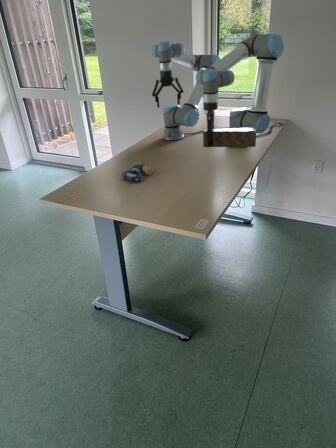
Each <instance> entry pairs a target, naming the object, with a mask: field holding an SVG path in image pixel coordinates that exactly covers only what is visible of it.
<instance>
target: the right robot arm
mask: <svg viewBox="0 0 336 448" xmlns="http://www.w3.org/2000/svg"><path fill="white" fill-rule="evenodd" d="M284 48H285V45H284V40H283V37H282V36H281V35H280V34H279V33H260V34H259V33H258V34H253V35H251V36H249V37H247V38H244V39H243V40H241V41H240V42H239V43H237V44H236V46H235V48H234V49H232V50H231V51H229V52H228V53H226V54H225V55H224V56H223V57H221V59H220V60H218V61H217V62H216V63H214V64H213V65H211V66H210V67H209V68H207V69H206V70H199V71H198V72H196V74H195V81H196V82H197V83H198V84H202V85H203V95H202V97H203V98H202V100H203V103H202V105H203V110H204V111H207V112H206V129H207V134H206V135H208V146H213V133H212V129H214V128H215V114H216V113H215V111H217V110H218V108H219V107H218V106H219V102H218V101H219V92H218V91H219V88H224V87H229V86H231V85H233V84H234V82H235V73H234V71H232V70H230V69H232V68H233V67H235V66H236V65H237V64H239V63H241V61H245V60H247V59H249V58H255V61H256V62H257V69H256V75H255V82H254V87H253V94H252V101H251V106H250V108H248V107H241V108H235V109H232V110H230V112H229V119H228V120H229V121H228V122H229V123H228V125H229V127H228V128H256V138H257V137H261V136H264V135H267V134H270V133H271V131H272V127H274V126H276V125H282V126H283V125H284V124H283V123H282V122H276V123H274V124H271V116H270V115H269V114H268V113H269V110H268V109H267V104H268V98H269V92H270V87H271V80H272V75H273V69H274V65H275V63H277V61H278V58H280V57H281V56H282V54H283V52H284ZM268 128H269V130H268ZM267 130H268V131H267ZM266 131H267V132H266ZM257 134H258V135H257ZM231 148H234V149H240V148H243V147H231Z"/></svg>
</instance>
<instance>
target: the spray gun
mask: <svg viewBox="0 0 336 448" xmlns="http://www.w3.org/2000/svg"><path fill="white" fill-rule="evenodd" d="M153 171H154V170H153V168H151V167H150V166H148V165H145V164H144V162H141V163H134V164H133V165H131V166H130V167H129V168H128V169H126V170H125V171H124V172H122V173H121V174H120V175H121V176H120V179H121V180H123V181H125V180H126V181H128V182H130V183H134V182H135V183H136V182H140V181H141V180H142V177H143V175H141V173H144V174H145V175H147V176H151V175H152V174H153Z"/></svg>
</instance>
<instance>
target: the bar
mask: <svg viewBox="0 0 336 448" xmlns="http://www.w3.org/2000/svg"><path fill="white" fill-rule="evenodd" d="M222 128H223V129H212V133H213V146H208V135H206V134H207V128H204V129H203V130H204V131H203V132H202V141H203V143H202V144H203V146H202V147H203V148H232V147H242V148H255V147H256V146H257V145H256V144H257V137H256V136H257V133H256V128H229V127H222Z"/></svg>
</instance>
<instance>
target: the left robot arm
mask: <svg viewBox="0 0 336 448" xmlns="http://www.w3.org/2000/svg"><path fill="white" fill-rule="evenodd" d="M150 51H151V55H152V57H153V58H157V59H158V64H159V70H160V71H159V76H160V78H159V79H155V83H154V87H153V90H152V93H151V96H152V97H154V101H155V103H156V106H157V108H158V109H159V108H160V98H159V97H160V96H159V94H160V93H161V91H162V89H164V88H165V87H166V88H167V87H172V88H173V89H174V90H175V92H177V93H176V99H177V104H171V105H166V106H165V107H163V113H162V114H163V123H164V130H163V135H162V139H163V140H164V141H167V142H176V141H180V140H182V139H184V137H185V135H186V136H187V135H196V134H199V133H200V134H201V133H203V131H204V129H203V130H198V131H196V132H187V133H185V132H183V129H182V126H183V127H191V128H192V127H195V126H196V125H197V124H198V122H199V120H200V112H199V111H200V109H199V107H200V104H201V103H202V100H203V98H204V97H202V95H203V85H202V84H198V83H197V81H196V82H195V84H194V86H193V89H192V90H191V93H190V94H189V97H188V99H187V101H186V102H184V103H183V105H182V107H180V105H181V99H182V94H183V93H184V89H183V87H182V85H181V83H180V82H179V78H178V77H176V76H175V77H173V70H172V69H173V63H175V64H178V65H181V66H184V67H186V69H189V70H191V71H193V72H196V73H197V72H198V71H199V70H206V69H207V68H209V67H210V66H211V65H213V64H214V63H216V62H217V61H218V60H220V59H221V58H222V57H221V55H219V54H193V53H186V49H185V45H184V44H183V43H181V42H176V43H171V41H169V40H167V41H159V42H158V43H156V44H153V45H152V47H151V49H150ZM173 82H175V84H176V85H177V87H176V85H175V84H174V83H173ZM159 84H160V85H159ZM158 86H159V87H158ZM223 128H224V127H214V129H223Z"/></svg>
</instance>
